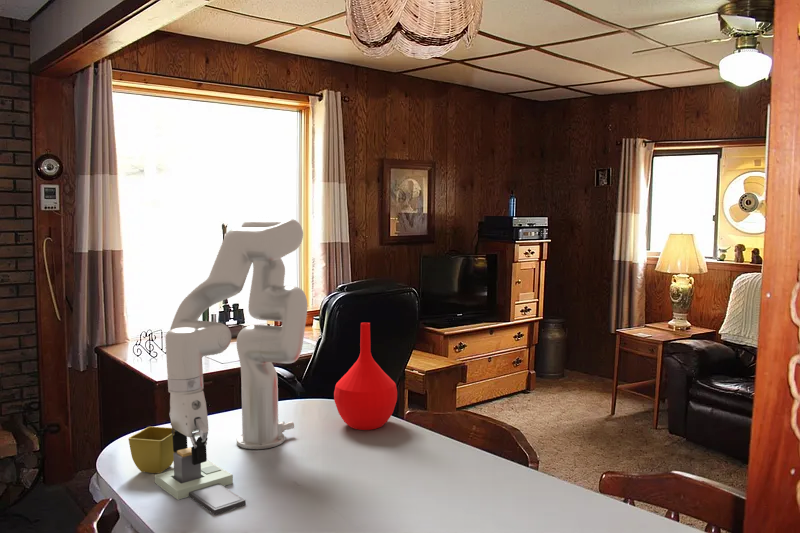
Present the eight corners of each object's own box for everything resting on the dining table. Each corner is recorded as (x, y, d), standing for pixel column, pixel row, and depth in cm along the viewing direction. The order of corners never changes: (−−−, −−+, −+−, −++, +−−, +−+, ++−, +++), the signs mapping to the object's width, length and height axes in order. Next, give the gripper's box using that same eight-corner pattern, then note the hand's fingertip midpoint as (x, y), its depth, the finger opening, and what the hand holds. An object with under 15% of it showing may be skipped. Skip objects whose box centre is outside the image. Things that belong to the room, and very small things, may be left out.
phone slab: (218, 487, 148) (218, 482, 148) (245, 504, 139) (245, 499, 139) (188, 496, 143) (188, 491, 143) (214, 515, 135) (214, 509, 134)
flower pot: (162, 478, 154) (161, 440, 153) (128, 475, 155) (127, 437, 155) (182, 464, 162) (181, 428, 161) (150, 461, 164) (148, 426, 163)
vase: (334, 416, 200) (332, 318, 198) (394, 414, 202) (393, 317, 200) (334, 436, 182) (333, 329, 180) (400, 434, 184) (400, 327, 182)
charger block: (192, 479, 153) (192, 445, 152) (201, 485, 149) (200, 451, 149) (174, 485, 150) (173, 450, 149) (182, 491, 146) (181, 455, 146)
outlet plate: (208, 468, 159) (208, 459, 159) (232, 483, 150) (232, 473, 150) (155, 483, 151) (154, 473, 150) (177, 499, 142) (177, 489, 142)
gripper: (219, 387, 144) (223, 463, 146) (185, 372, 157) (188, 442, 159) (186, 395, 139) (190, 473, 141) (153, 378, 152) (158, 450, 154)
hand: (189, 456), depth 150 cm, fingers open, 9 cm apart
